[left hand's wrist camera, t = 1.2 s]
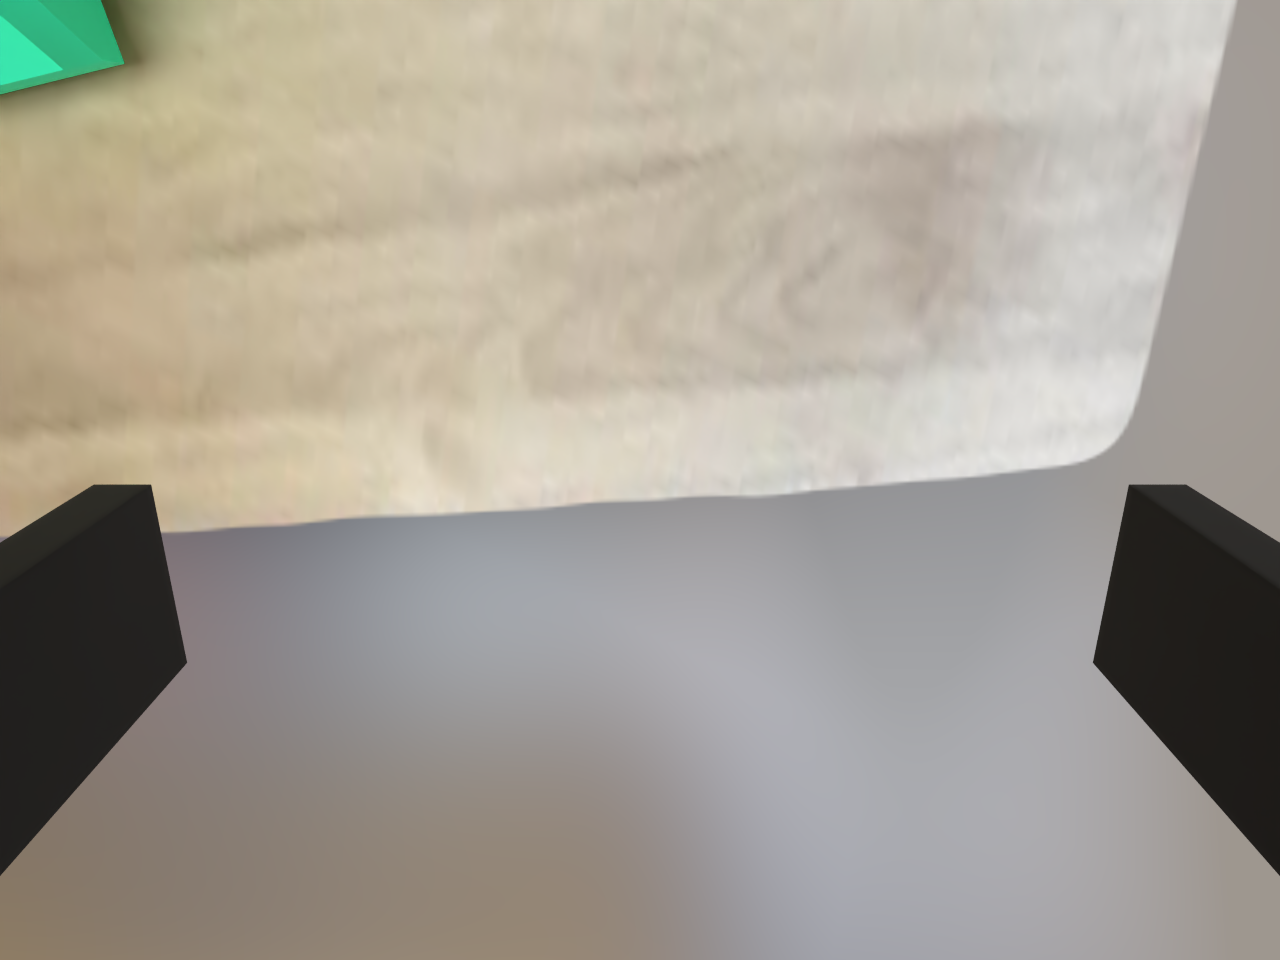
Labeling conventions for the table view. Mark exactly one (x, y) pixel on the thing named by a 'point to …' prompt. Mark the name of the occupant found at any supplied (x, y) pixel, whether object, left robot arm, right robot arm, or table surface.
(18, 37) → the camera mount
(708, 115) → the table surface
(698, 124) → the table surface
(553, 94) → the table surface
